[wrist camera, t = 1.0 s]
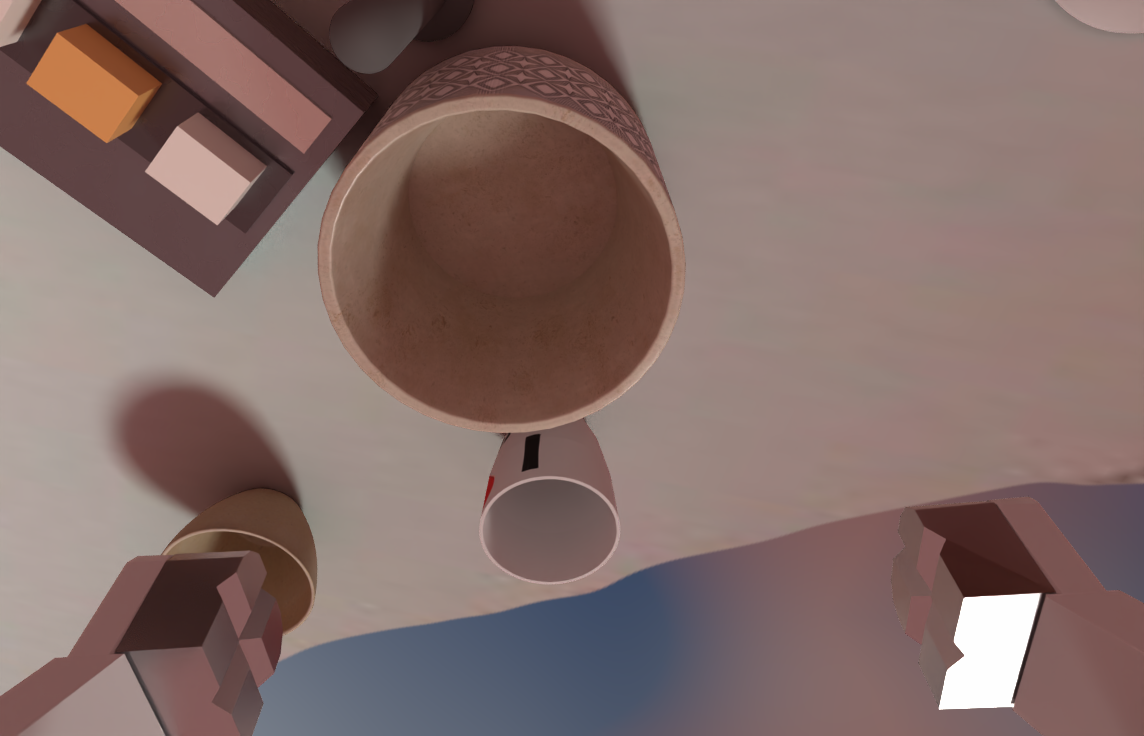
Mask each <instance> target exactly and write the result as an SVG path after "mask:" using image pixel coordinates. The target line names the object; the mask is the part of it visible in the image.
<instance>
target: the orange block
mask: <svg viewBox="0 0 1144 736" xmlns="http://www.w3.org/2000/svg"><path fill="white" fill-rule="evenodd" d="M26 84H27V85H29V86H30V87H32V88H33V89H34V90H36V91H37V92H38V93H40V94H41V95H42V96H44V97H45V98H46V99H48V100H49V101H50V102H52V103H53V104H54V105H56V106H57V107H58V108H60V109H61V110H62V111H64V112H65V113H67V114H68V115H69V116H71V117H72V118H73V119H75V120H76V121H77V122H79V123H80V124H81V125H83V126H84V127H85V128H87V129H88V130H89V131H91V132H92V133H93V134H95V135H96V136H97V137H99V138H100V139H102V140H103V141H104V142H106V143H108V142H110V141H112V140H113V139H115V138H117V137H118V136H120V135H122V134H123V133H125V132H127V131H129V130H130V129H132V127H133V126H134V124H135V123H136V121H137V120H138V119H139V117H140V116H141V114H142V113H143V111H144V110H145V108H146V107H147V105H148V104H149V102H150V101H151V100H152V98H153V97H154V95H155V94H156V92H157V91H158V89H159V88H160V86H161V85H162V83H161V82H159V81H158V80H157V79H156V78H154V77H153V76H152V75H151V74H149V73H148V72H147V71H146V70H144V69H143V68H142V67H140V66H139V65H138V64H137V63H135V62H134V61H133V60H132V59H130V58H129V57H128V56H127V55H125V54H124V53H123V52H121V51H120V50H119V49H118V48H116V47H115V46H114V45H113V44H111V43H110V42H109V41H108V40H106V39H105V38H104V37H102V36H101V35H100V34H99V33H97V32H96V31H95V30H94V29H92V28H91V27H90V26H89V25H87V24H84V25H81V26H77V27H74V28H71V29H68V30H64V31H61V32H58V33H57V34H56V35H55V37H54V39H53V40H52V42H51V44H50V45H49V47H48V49H47V50H46V52H45V53H44V55H43V57H42V58H41V60H40V62H39V63H38V65H37V67H36V68H35V70H34V72H33V73H32V75H31V76H30V78H29V80H28V81H27V83H26Z"/></svg>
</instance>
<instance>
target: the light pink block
mask: <svg viewBox="0 0 1144 736" xmlns="http://www.w3.org/2000/svg"><path fill="white" fill-rule="evenodd" d="M40 2H41V0H0V47H2V46H5V45H8V44H12V43H15V42H17V41H18V39H19V38H20V36H21V34H22V33H23V31H24V29H25V27H26V26H27V24H28V22H29V21H30V19H31V17H32V16H33V14H34V12H35V10H36V9H37V7H38V5H39V4H40Z"/></svg>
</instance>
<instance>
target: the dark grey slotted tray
mask: <svg viewBox="0 0 1144 736" xmlns="http://www.w3.org/2000/svg"><path fill="white" fill-rule="evenodd" d="M84 24H87V25H89V26H90V27H91V28H92V29H94V30H95V31H96V32H97V33H99V34H100V35H101V36H102V37H104V38H105V39H106V40H108V41H109V42H110V43H111V44H113V45H114V46H115V47H116V48H118V49H119V50H120V51H121V52H123V53H124V54H125V55H127V56H128V57H129V58H130V59H132V60H133V61H134V62H135V63H137V64H138V65H139V66H140V67H142V68H143V69H144V70H146V71H147V72H148V73H149V74H151V75H152V76H153V77H154V78H156V79H157V80H158V81H159V82H161V83H162V85H161V86H160V88H159V89H158V91H157V92H156V94H155V95H154V97H153V98H152V100H151V101H150V102H149V104H148V105H147V107H146V108H145V110H144V111H143V113H142V114H141V116H140V117H139V119H138V120H137V121H136V123H135V124H134V126H133V127H132V129H130V130H129V131H127V132H125V133H123V134H122V135H120V136H118V137H117V138H115V139H113V140H112V141H110V142H108V143H106V142H104V141H103V140H102V139H100V138H99V137H97V136H96V135H95V134H93V133H92V132H91V131H89V130H88V129H87V128H85V127H84V126H83V125H81V124H80V123H79V122H77V121H76V120H75V119H73V118H72V117H71V116H69V115H68V114H67V113H65V112H64V111H62V110H61V109H60V108H58V107H57V106H56V105H54V104H53V103H52V102H50V101H49V100H48V99H46V98H45V97H44V96H42V95H41V94H40V93H38V92H37V91H36V90H34V89H33V88H32V87H30V86H29V85H27V84H26V83H27V81H28V80H29V78H30V76H31V75H32V73H33V72H34V70H35V68H36V67H37V65H38V63H39V62H40V60H41V58H42V57H43V55H44V53H45V52H46V50H47V49H48V47H49V45H50V44H51V42H52V40H53V39H54V37H55V35H56V34H57V33H58V32H61V31H64V30H68V29H71V28H74V27H77V26H81V25H84ZM377 97H378V94H376V93H375V92H374V91H373V90H372V89H371V88H370V87H368V86H367V85H366V84H365V83H364V82H363V81H362V80H360V79H359V78H358V77H357V76H356V75H355V74H354V73H352V72H351V71H350V70H349V69H348V68H347V67H346V66H344V65H343V64H342V63H341V62H340V61H339V60H338V59H336V58H335V57H334V56H333V55H332V54H331V53H329V52H328V51H327V50H326V49H325V48H324V47H323V46H321V45H320V44H319V43H318V42H317V41H316V40H315V39H313V38H312V37H311V36H310V35H309V34H308V33H307V32H305V31H304V30H303V29H302V28H301V27H300V26H299V25H297V24H296V23H295V22H294V21H293V20H292V19H291V18H289V17H288V16H287V15H286V14H285V13H284V12H282V11H281V10H280V9H279V8H278V7H277V6H276V5H274V4H273V3H272V2H271V1H270V0H41V2H40V4H39V5H38V7H37V9H36V10H35V12H34V14H33V16H32V17H31V19H30V21H29V22H28V24H27V26H26V27H25V29H24V31H23V33H22V34H21V36H20V38H19V39H18V41H17V42H15V43H12V44H8V45H5V46H2V47H0V146H1V147H2V148H3V149H5V150H6V151H8V152H9V153H10V154H12V155H13V156H15V157H16V158H18V159H19V160H20V161H22V162H23V163H25V164H26V165H27V166H29V167H30V168H32V169H33V170H35V171H36V172H37V173H39V174H40V175H42V176H43V177H44V178H46V179H47V180H49V181H50V182H51V183H53V184H54V185H56V186H57V187H59V188H60V189H61V190H63V191H64V192H66V193H67V194H68V195H70V196H71V197H73V198H74V199H76V200H77V201H78V202H80V203H81V204H83V205H84V206H85V207H87V208H88V209H90V210H91V211H93V212H94V213H95V214H97V215H98V216H100V217H101V218H102V219H104V220H105V221H107V222H108V223H109V224H111V225H112V226H114V227H115V228H117V229H118V230H119V231H121V232H122V233H124V234H125V235H126V236H128V237H129V238H131V239H132V240H134V241H135V242H136V243H138V244H139V245H141V246H142V247H143V248H145V249H146V250H148V251H149V252H150V253H152V254H153V255H155V256H156V257H158V258H159V259H160V260H162V261H163V262H165V263H166V264H167V265H169V266H170V267H172V268H173V269H175V270H176V271H177V272H179V273H180V274H182V275H183V276H184V277H186V278H187V279H189V280H190V281H191V282H193V283H194V284H196V285H197V286H199V287H200V288H201V289H203V290H204V291H206V292H207V293H208V294H210V295H211V296H213V297H215V296H216V295H217V294H218V292H219V291H220V290H221V289H222V288H223V286H224V285H225V284H226V283H227V281H228V280H229V279H230V278H231V277H232V275H233V274H234V273H235V272H236V270H237V269H238V268H239V267H240V266H241V264H242V263H243V262H244V261H245V259H246V258H247V257H248V256H249V254H250V253H251V252H252V251H253V250H254V248H255V247H256V246H257V245H258V243H259V242H260V241H261V240H262V238H263V237H264V236H265V235H266V233H267V232H268V231H269V230H270V229H271V227H272V226H273V225H274V224H275V222H276V221H277V220H278V219H279V217H280V216H281V215H282V214H283V213H284V211H285V210H286V209H287V208H288V206H289V205H290V204H291V203H292V201H293V200H294V199H295V198H296V196H297V195H298V194H299V193H300V192H301V190H302V189H303V188H304V187H305V185H306V184H307V183H308V182H309V180H310V179H311V178H312V177H313V176H314V174H315V173H316V172H317V171H318V169H319V168H320V167H321V166H322V164H323V163H324V162H325V161H326V159H327V158H328V157H329V156H330V155H331V153H332V152H333V151H334V150H335V148H336V147H337V146H338V145H339V143H340V142H341V141H342V140H343V138H344V137H345V136H346V135H347V134H348V132H349V131H350V130H351V129H352V127H353V126H354V125H355V124H356V122H357V121H358V120H359V119H360V118H361V116H362V115H363V114H364V113H365V111H366V110H367V109H368V108H369V106H370V105H371V104H372V103H373V101H374V100H375V99H376V98H377ZM198 112H199V113H200V114H201V115H203V116H204V117H205V118H206V119H208V120H209V121H210V122H211V123H213V124H214V125H215V126H216V127H218V128H219V129H220V130H222V131H223V132H224V133H225V134H227V135H228V136H229V137H230V138H232V139H233V140H234V141H235V142H237V143H238V144H239V145H241V146H242V147H243V148H244V149H246V150H247V151H248V152H249V153H251V154H252V155H253V156H254V157H256V158H257V159H258V160H260V161H261V162H262V163H263V164H265V165H266V166H267V167H266V168H265V170H264V171H263V172H262V174H261V175H260V176H259V177H258V179H257V180H256V181H255V182H254V184H253V185H252V186H251V188H250V189H249V190H248V191H247V193H246V194H245V195H244V197H243V198H242V199H241V200H240V202H239V203H238V204H237V206H236V207H235V208H234V209H233V210H232V211H231V212H230V213H229V214H228V215H227V216H226V217H225V218H224V219H223V220H222V221H221V222H220V223H219V224H218V225H216V224H215V223H213V222H212V221H211V220H209V219H208V218H207V217H205V216H204V215H203V214H201V213H200V212H198V211H197V210H196V209H194V208H193V207H192V206H190V205H189V204H188V203H186V202H185V201H184V200H182V199H181V198H180V197H178V196H177V195H176V194H174V193H173V192H172V191H170V190H169V189H168V188H166V187H165V186H163V185H162V184H161V183H159V182H158V181H157V180H155V179H154V178H153V177H151V176H150V175H149V174H147V173H146V172H145V171H146V169H147V168H148V167H149V165H150V164H151V162H152V161H153V159H154V158H155V157H156V155H157V154H158V152H159V151H160V150H161V148H162V147H163V145H164V144H165V143H166V141H167V140H168V138H169V137H170V136H171V134H172V133H173V131H174V130H175V128H176V127H177V126H178V125H180V124H181V123H183V122H184V121H186V120H187V119H189V118H190V117H192V116H193V115H195V114H196V113H198Z"/></svg>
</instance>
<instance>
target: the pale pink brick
mask: <svg viewBox="0 0 1144 736" xmlns="http://www.w3.org/2000/svg"><path fill="white" fill-rule="evenodd" d="M266 167H267V166H266V165H265V164H263V163H262V162H261V161H260V160H258V159H257V158H256V157H254V156H253V155H252V154H251V153H249V152H248V151H247V150H246V149H244V148H243V147H242V146H241V145H239V144H238V143H237V142H235V141H234V140H233V139H232V138H230V137H229V136H228V135H227V134H225V133H224V132H223V131H222V130H220V129H219V128H218V127H216V126H215V125H214V124H213V123H211V122H210V121H209V120H208V119H206V118H205V117H204V116H203V115H201V114H200V113H199V112H198V113H196V114H195V115H193V116H192V117H190V118H189V119H187V120H186V121H184V122H183V123H181V124H180V125H178V126H177V127H176V128H175V130H174V131H173V133H172V134H171V136H170V137H169V138H168V140H167V141H166V143H165V144H164V145H163V147H162V148H161V150H160V151H159V152H158V154H157V155H156V157H155V158H154V159H153V161H152V162H151V164H150V165H149V167H148V168H147V169H146V171H145V172H146V173H147V174H149V175H150V176H151V177H153V178H154V179H155V180H157V181H158V182H159V183H161V184H162V185H163V186H165V187H166V188H168V189H169V190H170V191H172V192H173V193H174V194H176V195H177V196H178V197H180V198H181V199H182V200H184V201H185V202H186V203H188V204H189V205H190V206H192V207H193V208H194V209H196V210H197V211H198V212H200V213H201V214H203V215H204V216H205V217H207V218H208V219H209V220H211V221H212V222H213V223H215V224H216V225H218V224H219V223H220V222H221V221H222V220H223V219H224V218H225V217H226V216H227V215H228V214H229V213H230V212H231V211H232V210H233V209H234V208H235V207H236V206H237V204H238V203H239V202H240V200H241V199H242V198H243V197H244V195H245V194H246V193H247V191H248V190H249V189H250V188H251V186H252V185H253V184H254V182H255V181H256V180H257V179H258V177H259V176H260V175H261V174H262V172H263V171H264V170H265V168H266Z"/></svg>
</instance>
